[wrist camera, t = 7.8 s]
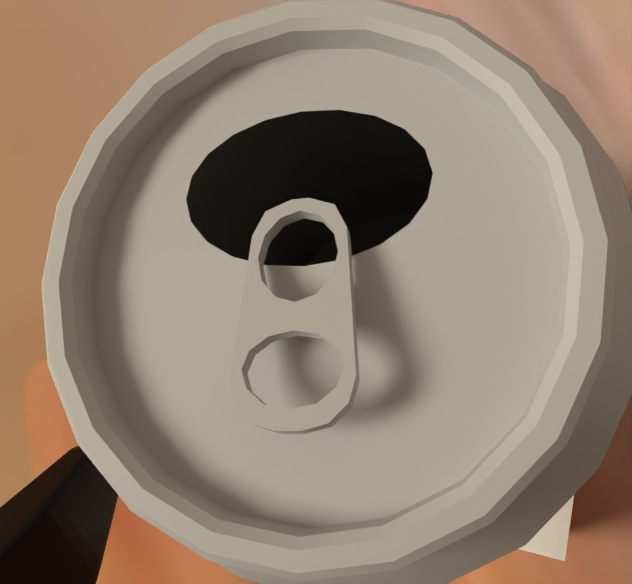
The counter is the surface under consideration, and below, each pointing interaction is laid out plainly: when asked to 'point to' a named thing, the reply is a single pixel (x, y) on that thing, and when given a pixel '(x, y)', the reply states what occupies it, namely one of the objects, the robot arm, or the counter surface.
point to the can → (343, 296)
